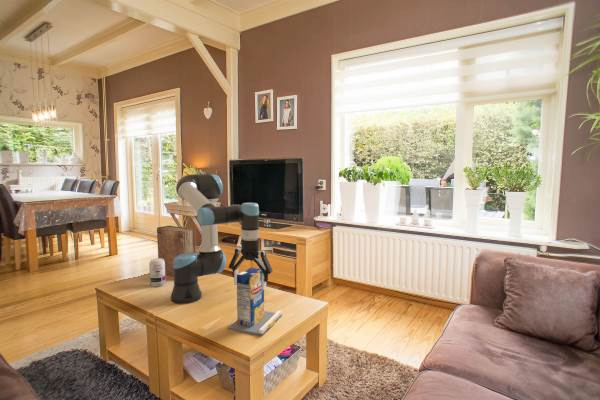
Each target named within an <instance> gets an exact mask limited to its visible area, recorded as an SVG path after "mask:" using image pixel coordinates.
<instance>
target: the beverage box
mask: <svg viewBox="0 0 600 400" xmlns="http://www.w3.org/2000/svg"><path fill="white" fill-rule="evenodd" d="M262 274H263V272H262V271H261V269H260V268H255V267H250V268H248V269H245V270H243V271H240V272H239V274H237V285H236V302H237V303H236V305H237V307H236V309H237V310H236V312H237V313H236V314H237V318H236V319H237V320H236V321H237V324H239V325H243V326H247V327H252V326H253V325H255V324H256V323H257V322H259V321H260V320H261V319H263V318H264V311H265V289H264V290H262Z"/></svg>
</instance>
